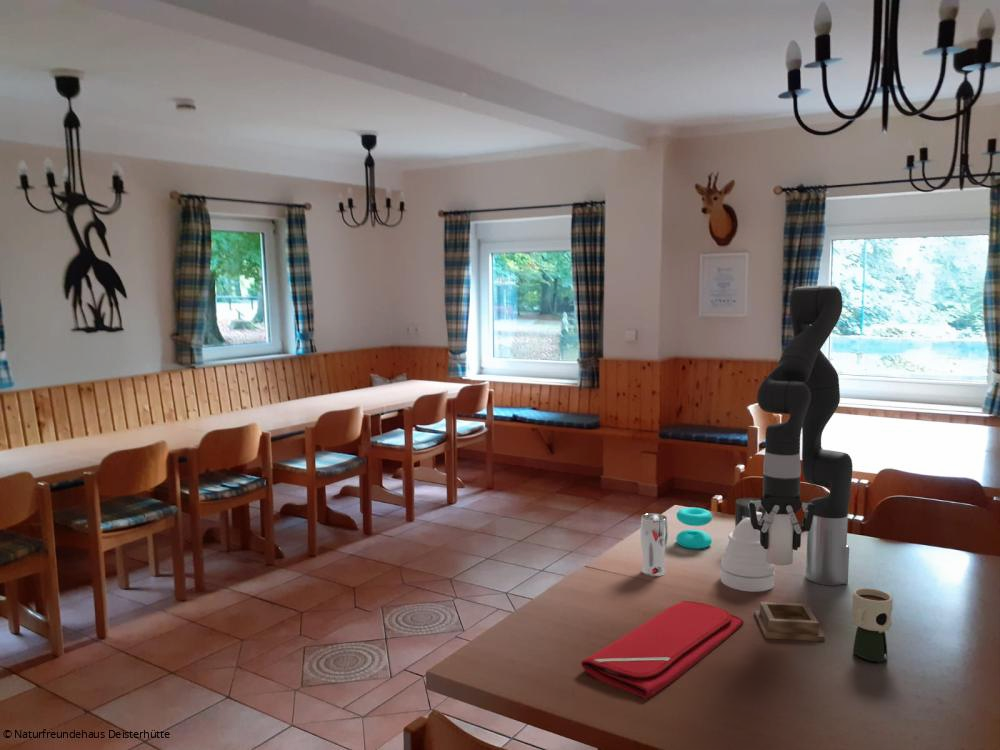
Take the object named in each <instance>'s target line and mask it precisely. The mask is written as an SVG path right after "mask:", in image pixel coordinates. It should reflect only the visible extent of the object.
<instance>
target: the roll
mask: <svg viewBox="0 0 1000 750" xmlns="http://www.w3.org/2000/svg"><path fill="white" fill-rule="evenodd" d="M772 515H773V514H772ZM791 516H792V515H791ZM766 517H768V513H767V514H766ZM793 531H794V527H793V524H792V522H791V519H790V515H788V514H776V515H774V519H773V521H772V523H771V524H770V526H769V528H768V530H767V532H768V549H766V556H765V560H766V561H767V562H768V563H771V564H774V566H789V565H791V564H792V565H793V562H794V550H793Z"/></svg>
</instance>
